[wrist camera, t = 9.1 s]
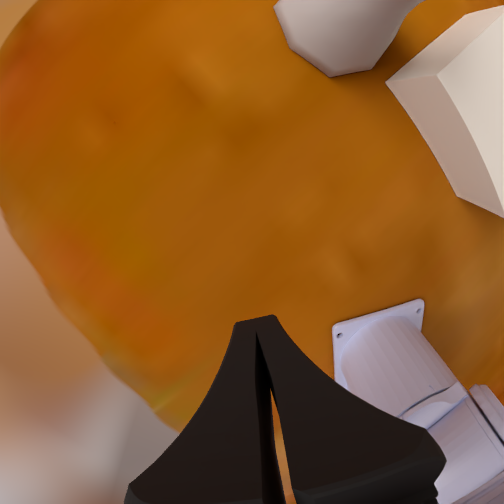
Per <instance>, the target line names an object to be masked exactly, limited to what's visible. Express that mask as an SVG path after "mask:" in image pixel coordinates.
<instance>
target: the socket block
mask: <svg viewBox="0 0 504 504" xmlns="http://www.w3.org/2000/svg"><path fill="white" fill-rule="evenodd" d="M385 83H386V85H387V86H388V87H389V89H390V90H391V91H392V93H393V94H394V95H395V97H396V98H397V99H398V101H399V102H400V104H401V105H402V106H403V108H404V109H405V111H406V112H407V114H408V115H409V116H410V118H411V119H412V121H413V122H414V124H415V125H416V127H417V128H418V130H419V132H420V133H421V135H422V136H423V138H424V139H425V141H426V143H427V144H428V146H429V147H430V149H431V151H432V152H433V154H434V156H435V158H436V159H437V161H438V163H439V164H440V166H441V168H442V170H443V172H444V173H445V175H446V177H447V179H448V181H449V183H450V184H451V186H452V188H453V190H454V192H455V194H456V196H457V197H460V198H462V199H464V200H467V201H469V202H471V203H473V204H475V205H477V206H480V207H482V208H484V209H486V210H488V211H490V212H492V213H494V214H496V215H498V216H500V217H502V218H504V5H503V6H498V7H494V8H489V9H485V10H481V11H477V12H473V13H469V14H466V15H465V16H463V17H462V18H461V19H460V20H458V21H457V22H456V23H455V24H453V25H452V26H451V27H450V28H448V29H447V30H446V31H445V32H444V33H442V34H441V35H440V36H439V37H438V38H436V39H435V40H434V41H433V42H432V43H430V44H429V45H428V46H427V47H426V48H424V49H423V50H422V51H421V52H420V53H418V54H417V55H416V56H415V57H414V58H412V59H411V60H410V61H409V62H408V63H407V64H405V65H404V66H403V67H402V68H401V69H400V70H398V71H397V72H396V73H395V74H394V75H393V76H391V77H390V78H389V79H388V80H387V81H386V82H385Z"/></svg>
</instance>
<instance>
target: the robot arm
mask: <svg viewBox="0 0 504 504" xmlns="http://www.w3.org/2000/svg"><path fill="white" fill-rule="evenodd" d="M418 309H419V310H418ZM417 310H418V311H417ZM423 312H424V301H423V300H422V299H416V300H413V301H410V302H407V303H404V304H401V305H398V306H395V307H391V308H388V309H385V310H382V311H378V312H375V313H371V314H368V315H365V316H361V317H357V318H354V319H350V320H347V321H343V322H339V323H337V324H335V325H334V326H333V328H332V336H333V353H334V374H335V381H334V380H333V379H332V378H330V377H329V376H328V375H327V374H325V373H324V372H323V371H322V370H321V369H320V368H319V367H317V366H316V365H315V364H314V363H313V362H312V361H311V360H310V359H309V358H308V357H307V356H306V355H305V354H304V353H303V352H302V351H301V350H300V348H299V347H298V346H297V345H296V344H295V343H294V342H293V340H292V339H291V338H290V337H289V335H288V334H287V333H286V331H285V330H284V329H283V327H282V326H281V324H280V322H279V321H278V319H277V317H276V316H275V315H268V316H263V317H259V318H254V319H250V320H245V321H240V322H236V323H235V325H234V327H233V332H232V336H231V339H230V342H229V345H228V348H227V351H226V354H225V356H224V359H223V361H222V364H221V366H220V369H219V371H218V373H217V375H216V377H215V379H214V381H213V383H212V385H211V387H210V389H209V391H208V393H207V395H206V397H205V398H204V400H203V402H202V403H201V405H200V407H199V408H198V410H197V411H196V413H195V414H194V416H193V417H192V418H191V420H190V421H189V423H188V424H187V425H186V427H185V428H184V429H183V431H182V432H181V433H180V435H179V436H178V437H177V438H176V439H175V440H174V442H173V443H172V444H171V445H170V446H169V447H168V448H167V449H166V450H165V451H164V453H163V454H162V455H161V456H160V457H159V458H158V459H157V460H156V461H155V462H154V463H153V464H152V465H151V466H149V467H148V468H147V469H146V470H145V471H144V472H143V473H142V474H140V475H139V476H138V477H137V478H136V479H135V480H134V481H132V482H131V483H130V484H129V486H128V490H127V493H126V496H125V500H124V504H286V500H285V495H284V491H283V485H282V480H281V475H280V470H279V465H278V460H277V455H276V448H275V440H274V427H273V415H272V402H271V391H272V395H273V398H274V401H275V404H276V407H277V411H278V414H279V418H280V423H281V428H282V434H283V440H284V445H285V451H286V457H287V462H288V468H289V474H290V480H291V486H292V490H293V493H294V497H295V500H296V503H297V504H504V407H503V405H502V404H501V403H500V401H499V400H498V399H497V397H496V396H495V395H494V394H493V392H492V391H491V390H490V389H489V388H488V386H487V385H479V386H478V385H477V384H475V385H473V386H472V387H471V388H470V389H469V391H470V392H471V394H472V395H471V394H470V393H469V392H468V391H467V390H466V389H465V388H464V387H463V385H462V384H461V383H460V382H459V381H458V379H457V378H456V377H455V375H454V374H453V373H452V371H451V370H450V369H449V367H448V366H447V365H446V364H445V362H444V361H443V360H442V358H441V357H440V356H439V354H438V353H437V352H436V351H435V349H434V348H433V347H432V346H431V344H430V343H429V342H428V341H427V339H426V338H425V337H424V336H423V334H422V333H421V327H422V320H423ZM339 333H341V334H340V335H338V334H339ZM270 388H271V391H270ZM472 396H473V397H474V398H475V399H474V398H473V397H472Z"/></svg>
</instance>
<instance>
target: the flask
mask: <svg viewBox="0 0 504 504" xmlns="http://www.w3.org/2000/svg"><path fill="white" fill-rule="evenodd" d="M423 1H425V0H279V1H278V2H277V4H276V5H275V6H274V7H273V8H274V10H275V12H276V15H277V17H278V20H279V22H280V25H281V27H282V30H283V32H284V35H285V37H286V40H287V42H288V45H289V48H290V49H292V50H293V51H294V52H296V53H297V54H299V55H300V56H302V57H303V58H304V59H306V60H307V61H309V62H310V63H311V64H313V65H314V66H315V67H317V68H318V69H319V70H321V71H322V72H323V73H325V74H326V75H327V76H328V77H334V76H339V75H344V74H349V73H354V72H359V71H365V70H371V69H372V68H373V66H374V65H375V64H376V62H377V61H378V60H379V58H380V57H381V56H382V54H383V53H384V52H385V50H386V49H387V48H388V46H389V45H390V44H391V42H392V41H393V39H394V38H395V36H396V34H397V32H398V30H399V28H400V26H401V23H402V22H403V20H404V18H405V17H406V15H407V14H408V13H409V12H410V11H411V10H412V9H413V8H414V7H415V6H417V5H418V4H419V3H421V2H423Z"/></svg>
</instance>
